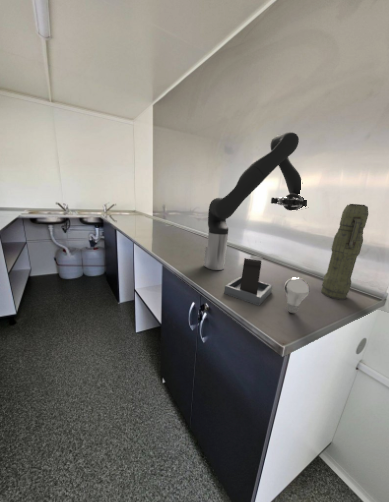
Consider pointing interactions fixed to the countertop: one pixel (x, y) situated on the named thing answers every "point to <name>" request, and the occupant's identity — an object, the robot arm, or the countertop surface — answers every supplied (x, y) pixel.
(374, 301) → the countertop surface
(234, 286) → the tray
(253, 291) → the door stopper
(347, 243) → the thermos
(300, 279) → the light bulb
